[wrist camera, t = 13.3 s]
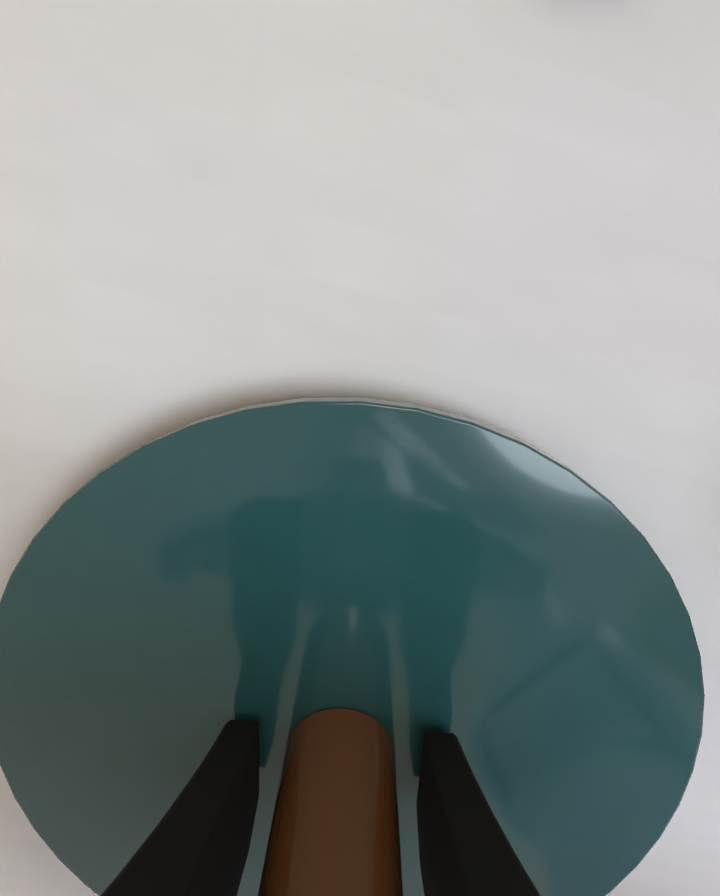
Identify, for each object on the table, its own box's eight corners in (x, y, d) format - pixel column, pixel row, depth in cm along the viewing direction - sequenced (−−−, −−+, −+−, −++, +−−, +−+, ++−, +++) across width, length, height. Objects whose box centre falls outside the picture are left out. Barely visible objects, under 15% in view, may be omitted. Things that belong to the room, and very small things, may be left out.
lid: (602, 946, 14) (714, 1254, 9) (60, 912, 14) (-88, 1203, 9) (756, 414, 9) (1109, 511, 5) (-33, 368, 10) (-395, 422, 5)
